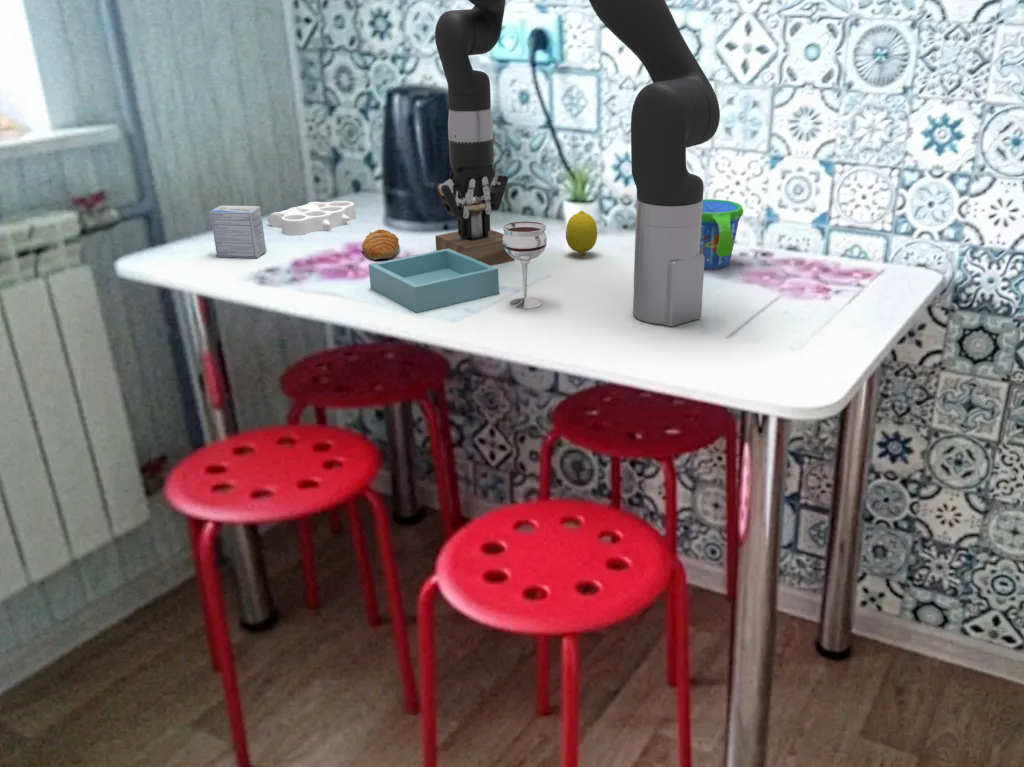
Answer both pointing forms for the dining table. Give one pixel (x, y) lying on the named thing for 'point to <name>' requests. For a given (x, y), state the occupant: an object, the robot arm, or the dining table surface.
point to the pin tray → (433, 279)
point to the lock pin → (476, 219)
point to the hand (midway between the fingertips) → (474, 236)
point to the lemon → (581, 232)
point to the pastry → (380, 245)
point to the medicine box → (238, 231)
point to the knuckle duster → (313, 217)
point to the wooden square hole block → (476, 247)
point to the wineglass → (524, 251)
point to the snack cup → (718, 231)
